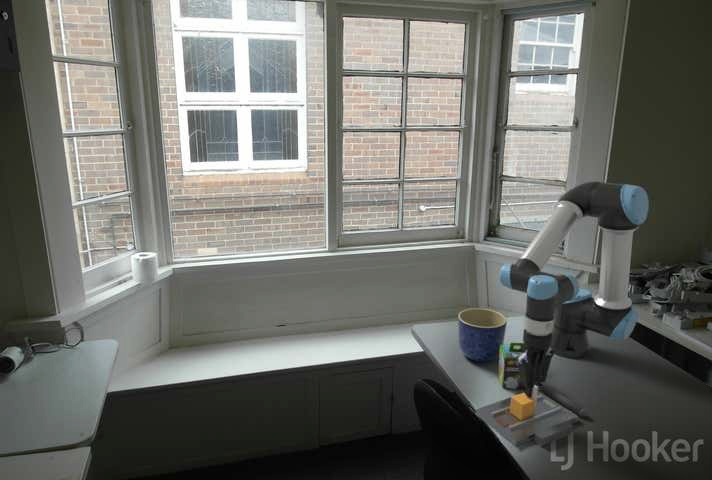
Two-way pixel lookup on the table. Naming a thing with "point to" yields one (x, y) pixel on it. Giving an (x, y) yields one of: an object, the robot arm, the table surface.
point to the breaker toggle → (522, 406)
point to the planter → (481, 333)
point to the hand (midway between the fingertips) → (530, 404)
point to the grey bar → (553, 433)
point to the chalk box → (510, 365)
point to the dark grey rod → (564, 401)
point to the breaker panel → (525, 430)
